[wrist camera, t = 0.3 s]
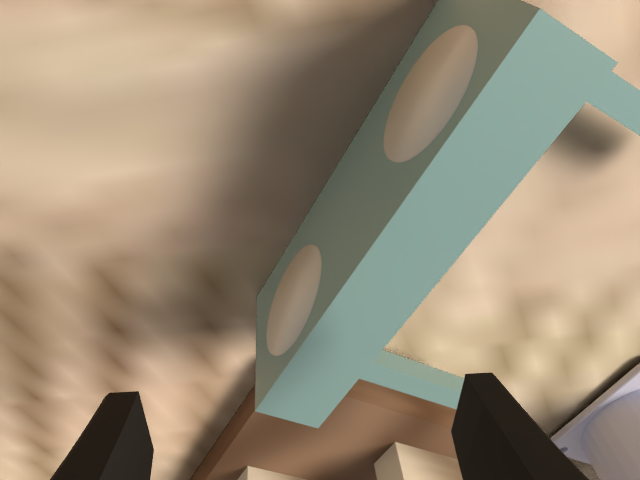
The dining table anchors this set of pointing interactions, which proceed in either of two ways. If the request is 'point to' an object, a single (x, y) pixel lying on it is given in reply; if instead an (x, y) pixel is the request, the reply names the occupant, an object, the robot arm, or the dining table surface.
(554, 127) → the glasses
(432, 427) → the display stand
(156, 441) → the dining table surface
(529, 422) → the robot arm
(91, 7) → the dining table surface
